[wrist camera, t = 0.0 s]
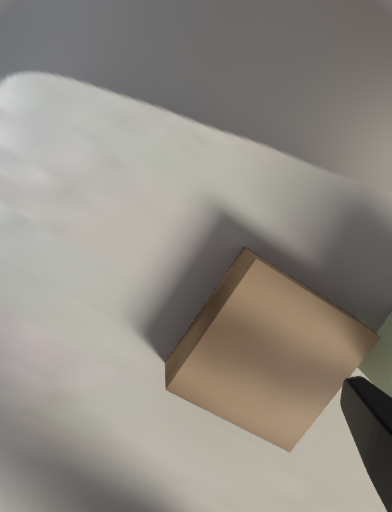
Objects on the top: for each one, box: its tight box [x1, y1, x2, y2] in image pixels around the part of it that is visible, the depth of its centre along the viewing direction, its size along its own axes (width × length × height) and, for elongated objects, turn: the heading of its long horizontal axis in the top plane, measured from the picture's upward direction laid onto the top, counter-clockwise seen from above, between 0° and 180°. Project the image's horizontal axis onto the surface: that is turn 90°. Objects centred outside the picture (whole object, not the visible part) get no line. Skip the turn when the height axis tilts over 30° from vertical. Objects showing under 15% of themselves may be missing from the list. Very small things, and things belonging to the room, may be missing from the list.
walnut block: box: [165, 247, 381, 452], centre depth 24 cm, size 10×10×4 cm
